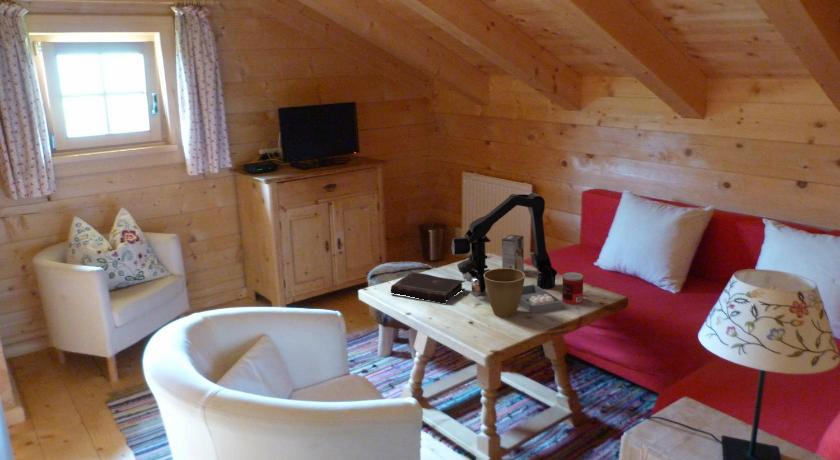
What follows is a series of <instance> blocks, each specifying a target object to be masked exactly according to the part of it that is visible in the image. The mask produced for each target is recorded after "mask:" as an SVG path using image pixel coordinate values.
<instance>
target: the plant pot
mask: <svg viewBox="0 0 840 460" xmlns="http://www.w3.org/2000/svg"><path fill="white" fill-rule="evenodd" d="M525 277H526V273H524V271H520V270H516V269H511V268H502V267H500V268H494V269H490V270H489V271H487V272H486V273H484V280H485V286H486V295H487V298H488V300H489V301H488V302H489V303H490V307H491V310H492V312H493V314H494V315H495V317H498V318H499V317H500V318H511V317H514V316H515V315H516V313H517V311H518V307H519V306H520V305H519V302H520V299H521V295H522V291H523V286H525V285H524V284H525Z"/></svg>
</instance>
